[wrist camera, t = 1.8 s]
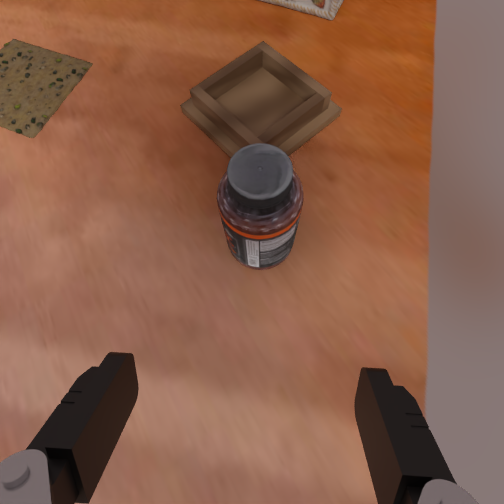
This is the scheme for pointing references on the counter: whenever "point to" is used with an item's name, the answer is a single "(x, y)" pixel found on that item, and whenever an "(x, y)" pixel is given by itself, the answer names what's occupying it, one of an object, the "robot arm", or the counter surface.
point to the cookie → (34, 85)
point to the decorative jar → (311, 6)
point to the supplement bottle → (260, 205)
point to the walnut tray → (260, 103)
